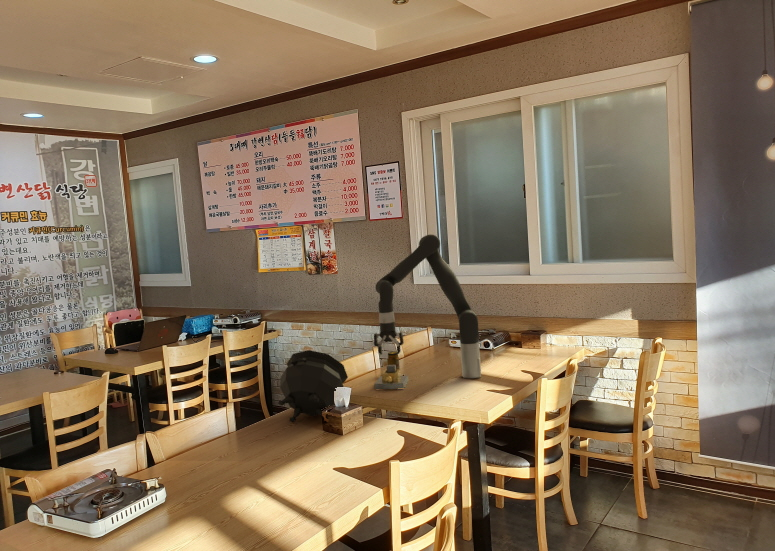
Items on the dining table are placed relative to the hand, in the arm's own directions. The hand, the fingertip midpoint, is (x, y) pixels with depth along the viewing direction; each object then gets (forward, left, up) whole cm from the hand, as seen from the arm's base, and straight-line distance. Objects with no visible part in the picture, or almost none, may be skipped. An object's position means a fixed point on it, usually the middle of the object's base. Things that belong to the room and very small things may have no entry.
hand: (389, 353), depth 285 cm
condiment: (+2, -19, -16) cm, 25 cm away
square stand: (0, 0, -16) cm, 16 cm away
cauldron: (+24, +46, -16) cm, 54 cm away
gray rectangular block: (0, 0, -16) cm, 16 cm away
